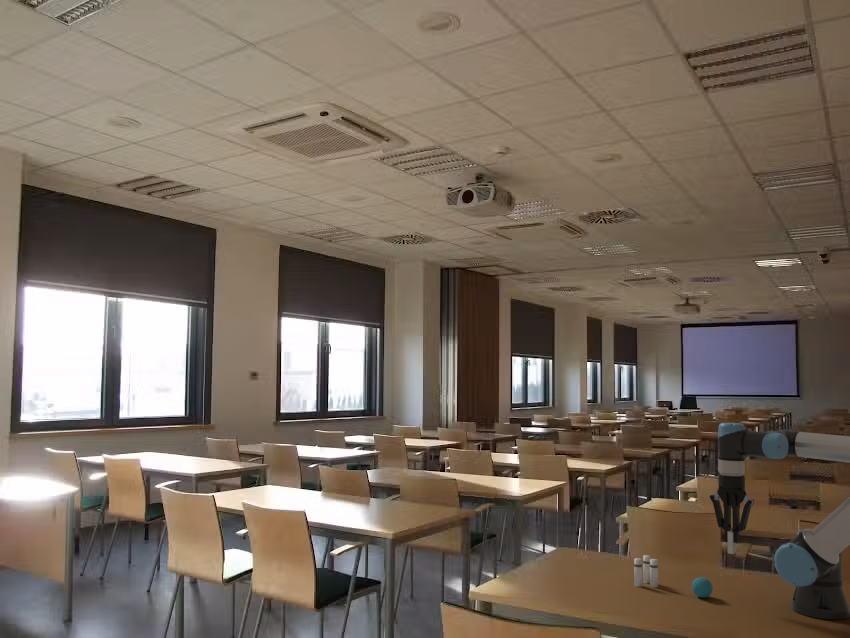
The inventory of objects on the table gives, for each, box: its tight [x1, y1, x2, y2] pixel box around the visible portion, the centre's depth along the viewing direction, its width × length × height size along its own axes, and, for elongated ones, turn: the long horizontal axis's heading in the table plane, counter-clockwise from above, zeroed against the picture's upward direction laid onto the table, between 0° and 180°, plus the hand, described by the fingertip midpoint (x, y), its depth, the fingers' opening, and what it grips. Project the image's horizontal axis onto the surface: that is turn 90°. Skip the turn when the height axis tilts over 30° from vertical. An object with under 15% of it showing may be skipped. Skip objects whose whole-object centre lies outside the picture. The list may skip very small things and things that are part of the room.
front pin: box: [649, 558, 659, 589], centre depth 246 cm, size 2×2×8 cm
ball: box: [691, 576, 713, 599], centre depth 235 cm, size 6×6×6 cm
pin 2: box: [642, 554, 652, 584], centre depth 251 cm, size 2×2×8 cm
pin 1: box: [633, 557, 643, 588], centre depth 246 cm, size 2×2×8 cm
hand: (731, 553), depth 229 cm, fingers closed
